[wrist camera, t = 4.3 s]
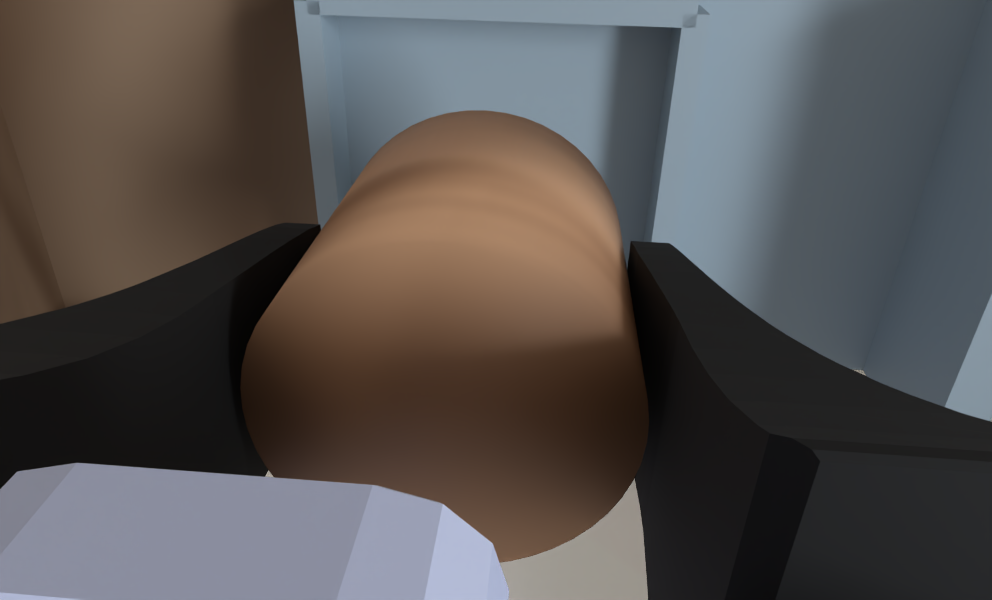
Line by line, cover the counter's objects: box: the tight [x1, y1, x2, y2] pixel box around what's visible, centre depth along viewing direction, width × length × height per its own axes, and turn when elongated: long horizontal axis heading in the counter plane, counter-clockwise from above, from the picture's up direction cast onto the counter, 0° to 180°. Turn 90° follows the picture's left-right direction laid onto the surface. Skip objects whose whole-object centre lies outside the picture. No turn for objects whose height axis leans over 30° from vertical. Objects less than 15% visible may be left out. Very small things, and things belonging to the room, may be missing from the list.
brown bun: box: [240, 110, 649, 563], centre depth 11 cm, size 5×5×5 cm
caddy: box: [0, 0, 318, 324], centre depth 17 cm, size 16×12×4 cm
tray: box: [294, 0, 992, 421], centre depth 15 cm, size 14×10×4 cm
